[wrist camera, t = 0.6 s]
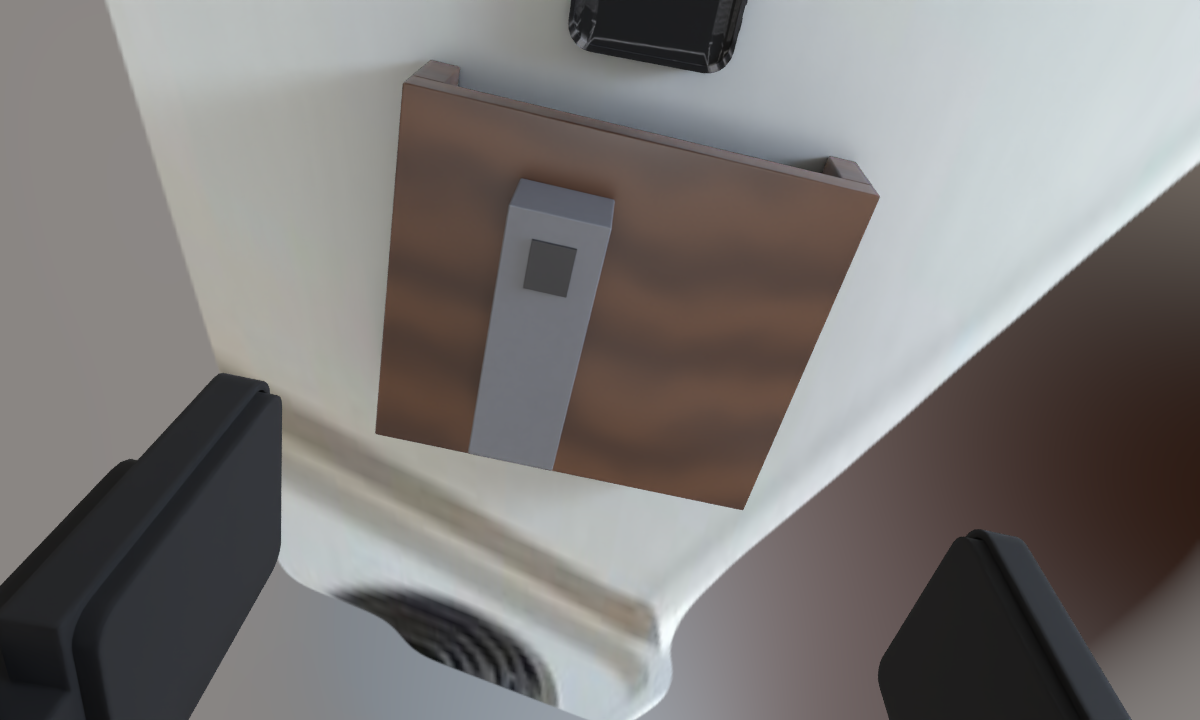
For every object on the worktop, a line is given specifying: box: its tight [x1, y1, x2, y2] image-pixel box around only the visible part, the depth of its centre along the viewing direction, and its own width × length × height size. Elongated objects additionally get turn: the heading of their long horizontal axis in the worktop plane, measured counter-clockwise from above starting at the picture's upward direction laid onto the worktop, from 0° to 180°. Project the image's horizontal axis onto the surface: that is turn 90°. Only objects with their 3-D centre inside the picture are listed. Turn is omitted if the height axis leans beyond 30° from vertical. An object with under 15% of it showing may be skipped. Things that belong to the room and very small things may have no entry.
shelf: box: [375, 60, 880, 510], centre depth 42 cm, size 20×22×5 cm
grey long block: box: [468, 178, 615, 471], centre depth 38 cm, size 14×4×4 cm, turn 168°
